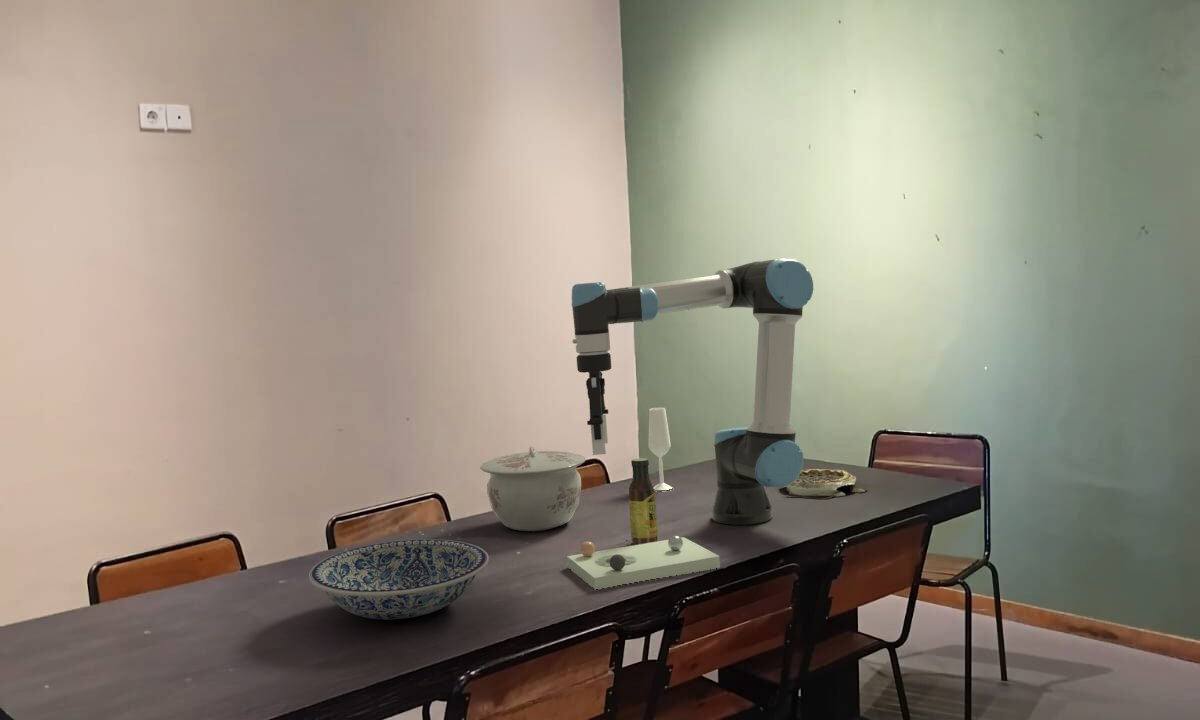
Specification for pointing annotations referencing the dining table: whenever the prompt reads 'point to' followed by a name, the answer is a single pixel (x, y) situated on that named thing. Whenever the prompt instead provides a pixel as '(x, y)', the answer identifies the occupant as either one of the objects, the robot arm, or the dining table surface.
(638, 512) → the sauce bottle
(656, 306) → the robot arm
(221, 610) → the dining table surface
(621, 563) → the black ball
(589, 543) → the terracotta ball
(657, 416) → the champagne flute
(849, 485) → the pie
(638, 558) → the board
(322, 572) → the ceramic bowl
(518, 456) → the chamber pot
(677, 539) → the steel ball
